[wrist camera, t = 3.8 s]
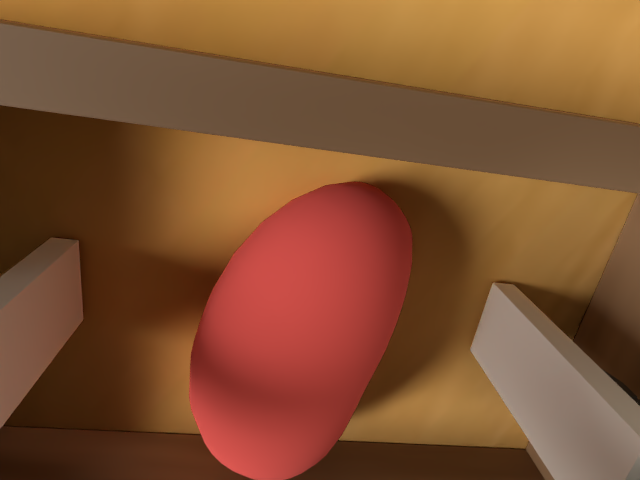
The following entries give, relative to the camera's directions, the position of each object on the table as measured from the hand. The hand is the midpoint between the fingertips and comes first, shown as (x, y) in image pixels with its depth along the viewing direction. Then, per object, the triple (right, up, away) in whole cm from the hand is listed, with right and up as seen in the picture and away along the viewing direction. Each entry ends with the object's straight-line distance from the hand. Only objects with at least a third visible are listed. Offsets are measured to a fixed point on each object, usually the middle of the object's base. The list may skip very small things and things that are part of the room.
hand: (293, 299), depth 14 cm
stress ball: (0, 0, +1) cm, 1 cm away
